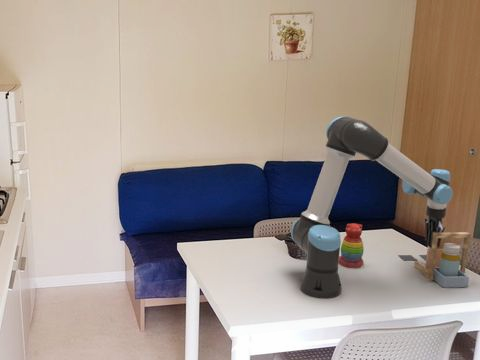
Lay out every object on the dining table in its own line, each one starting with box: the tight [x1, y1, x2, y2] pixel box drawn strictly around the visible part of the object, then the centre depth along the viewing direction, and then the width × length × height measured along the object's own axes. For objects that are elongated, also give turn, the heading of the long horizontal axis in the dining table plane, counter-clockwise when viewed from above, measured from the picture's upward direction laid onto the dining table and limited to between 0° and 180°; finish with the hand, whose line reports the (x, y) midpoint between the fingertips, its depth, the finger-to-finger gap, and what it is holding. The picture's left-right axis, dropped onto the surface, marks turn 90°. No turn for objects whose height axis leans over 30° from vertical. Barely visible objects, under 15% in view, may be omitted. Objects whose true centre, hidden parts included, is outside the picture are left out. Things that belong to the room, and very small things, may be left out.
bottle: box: [439, 242, 461, 277], centre depth 215 cm, size 7×7×15 cm
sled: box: [424, 248, 470, 288], centre depth 218 cm, size 10×18×9 cm, turn 8°
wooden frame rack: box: [413, 231, 472, 282], centre depth 222 cm, size 15×14×20 cm
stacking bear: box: [339, 222, 365, 269], centre depth 229 cm, size 11×10×18 cm
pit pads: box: [398, 254, 427, 262], centre depth 241 cm, size 16×6×1 cm, turn 98°
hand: (430, 260), depth 231 cm, fingers closed
